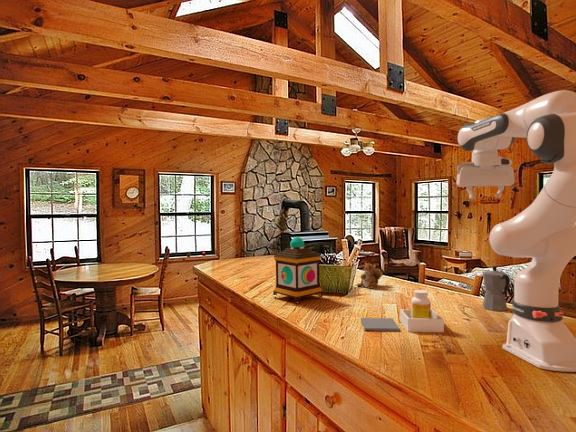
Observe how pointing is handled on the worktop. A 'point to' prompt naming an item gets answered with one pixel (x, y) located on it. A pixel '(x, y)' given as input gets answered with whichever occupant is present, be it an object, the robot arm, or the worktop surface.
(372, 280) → the stuffed squirrel
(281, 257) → the decorative lantern
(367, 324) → the mat
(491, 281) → the coffeepot
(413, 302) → the supplement bottle
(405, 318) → the bin
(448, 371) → the worktop surface
